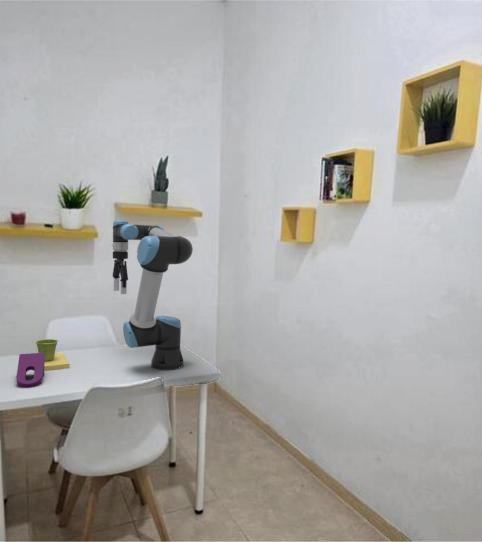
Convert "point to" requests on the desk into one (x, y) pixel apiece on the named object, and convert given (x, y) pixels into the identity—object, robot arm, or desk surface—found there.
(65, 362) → the shelf board
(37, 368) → the mounting bracket
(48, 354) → the plant pot
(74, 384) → the desk surface
